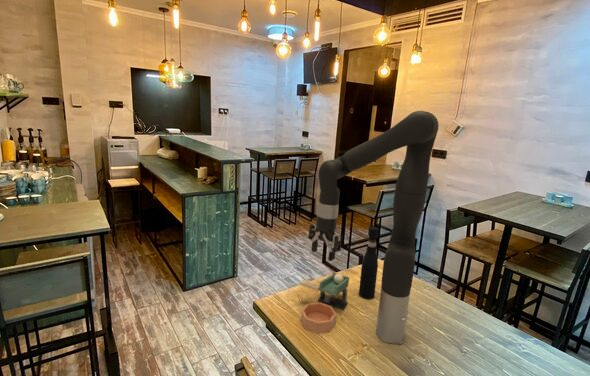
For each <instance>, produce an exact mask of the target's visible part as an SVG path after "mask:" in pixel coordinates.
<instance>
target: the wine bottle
mask: <svg viewBox="0 0 590 376" xmlns="http://www.w3.org/2000/svg"><path fill="white" fill-rule="evenodd" d="M379 230H380V229H379V227H377V226H373V225H372V226H369V227H368V234H367V236H368V237H369V239H368V241H367V245H366V251H365V253H364V255H363V259H362V261H361V268H360V270H361V271H360V278H359V287H358V295H359V297H360V298H362V299H364V300H372V299H375V293H376V285H377V277H378V267H379V262H378V256H377V248H378V247H377V238H378V237H379Z"/></svg>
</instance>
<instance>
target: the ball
mask: <svg viewBox="0 0 590 376" xmlns="http://www.w3.org/2000/svg"><path fill="white" fill-rule="evenodd" d="M342 275H343V274H341V273H336V275H335V276H334V282H335V283H336V284H340V283H341V282H343V280H344V278H343V276H344V275H343V276H342Z"/></svg>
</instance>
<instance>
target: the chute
mask: <svg viewBox="0 0 590 376" xmlns="http://www.w3.org/2000/svg"><path fill="white" fill-rule="evenodd" d="M336 274H337V273H335V272H332V274H331V275H329V276H328V277H326V278H324V279H323V280H321V281H320V282H319V284H317V283H315V282H313V281H312V282H311V281H309V280H305V279H303V280H301V281H299V283H298V285H299V286H302V287H304V288H308V289H311V290H314V291H323V292H325V294H328V295H332V296H335V297H337V296H338V295H339V294H341V293H343V290H344V289H346V290H347V288H348V286H349V280H350V277H349V276H346V275H343V274H341V275H342V276H343V278H344V280H343V282H341V283H340V284H336V283H335V282H334V276H335V275H336Z"/></svg>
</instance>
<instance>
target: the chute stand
mask: <svg viewBox="0 0 590 376" xmlns="http://www.w3.org/2000/svg"><path fill="white" fill-rule="evenodd" d="M319 291H320V290H319ZM341 293H342V296H341V298H337V297H336V296H335V297H334V296H333V295H332V296H331V295H330V294H327V293H326V292H323V291H320V293H319V297H318V299H317V302H320V303H323V304H326V305H329V306H331V307H332V308H334V309H338V310H341V311H345V309H346V308H347V307H348V304H349V301H348V300H347V299H348V298H347V297H348V289H347V288H346V289H344V290H343V292H341Z"/></svg>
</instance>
